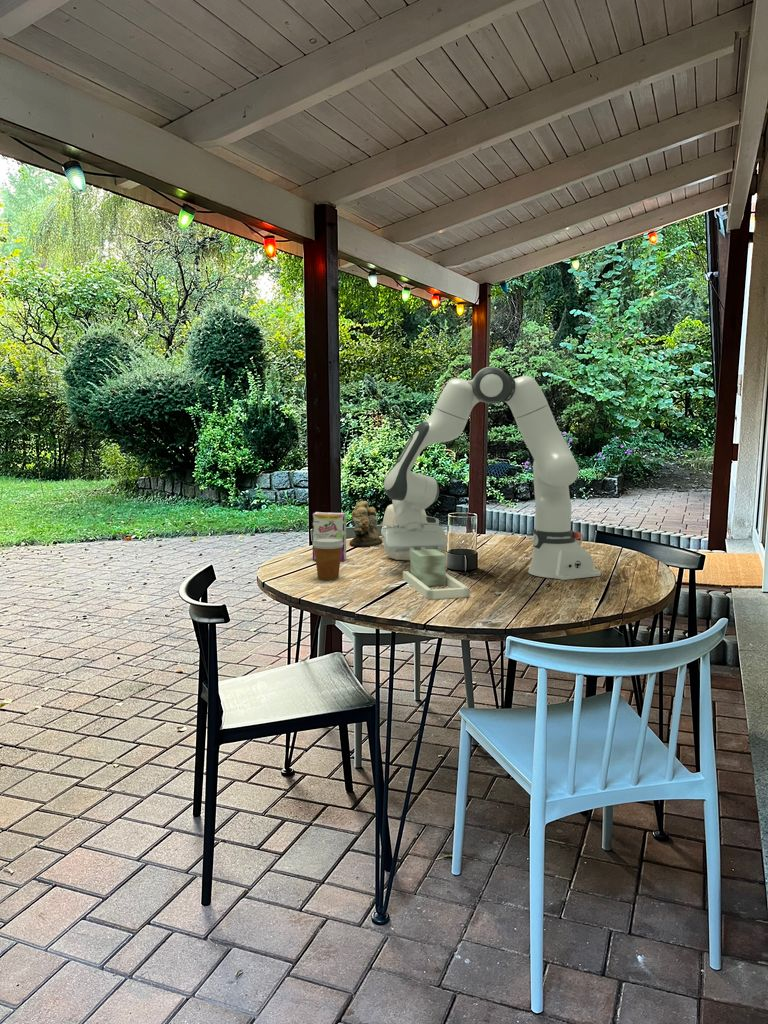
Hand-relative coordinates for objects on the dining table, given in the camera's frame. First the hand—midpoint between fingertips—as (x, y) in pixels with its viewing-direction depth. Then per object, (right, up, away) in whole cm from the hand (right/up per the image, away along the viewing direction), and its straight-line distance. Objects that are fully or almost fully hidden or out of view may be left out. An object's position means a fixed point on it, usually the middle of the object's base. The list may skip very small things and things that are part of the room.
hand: (419, 561), depth 224 cm
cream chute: (+3, -7, -14) cm, 15 cm away
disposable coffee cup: (-28, -5, -2) cm, 29 cm away
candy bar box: (-30, -1, +25) cm, 39 cm away
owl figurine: (-18, +3, +57) cm, 60 cm away
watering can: (-3, -1, +31) cm, 31 cm away
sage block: (+2, -6, -8) cm, 10 cm away
